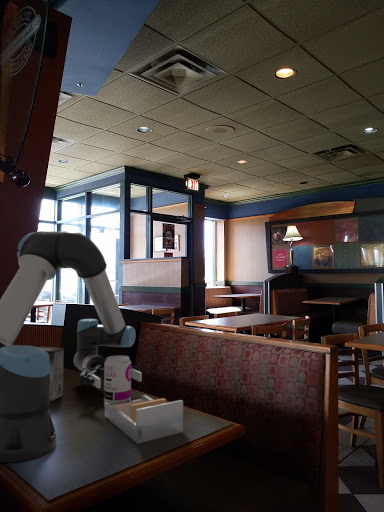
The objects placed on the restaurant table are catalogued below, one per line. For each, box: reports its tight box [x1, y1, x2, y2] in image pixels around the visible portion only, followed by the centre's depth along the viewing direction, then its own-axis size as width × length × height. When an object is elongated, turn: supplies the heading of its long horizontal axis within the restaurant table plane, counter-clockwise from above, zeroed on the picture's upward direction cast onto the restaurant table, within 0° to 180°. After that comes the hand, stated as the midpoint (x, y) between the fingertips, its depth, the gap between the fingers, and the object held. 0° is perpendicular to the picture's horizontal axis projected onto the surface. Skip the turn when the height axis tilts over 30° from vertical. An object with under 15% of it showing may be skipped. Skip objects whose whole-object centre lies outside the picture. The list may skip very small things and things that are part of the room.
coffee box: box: [38, 346, 65, 402], centre depth 133 cm, size 9×6×16 cm
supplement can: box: [103, 354, 132, 407], centre depth 124 cm, size 8×8×15 cm
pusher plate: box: [130, 397, 167, 422], centre depth 106 cm, size 1×10×6 cm, turn 123°
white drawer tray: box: [104, 394, 184, 444], centre depth 110 cm, size 22×13×8 cm, turn 33°
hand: (120, 380), depth 123 cm, fingers open, 13 cm apart
